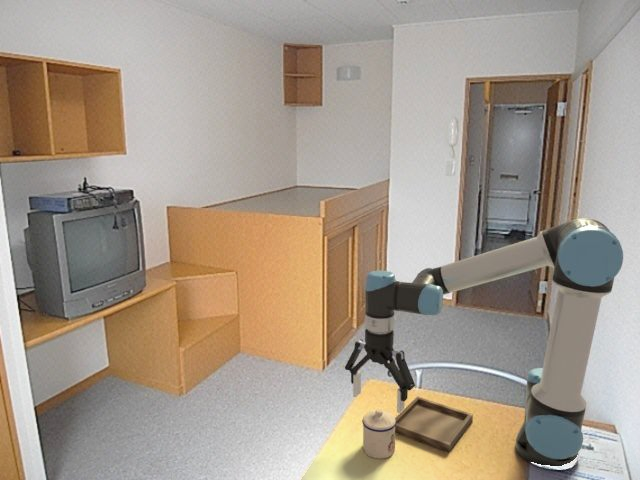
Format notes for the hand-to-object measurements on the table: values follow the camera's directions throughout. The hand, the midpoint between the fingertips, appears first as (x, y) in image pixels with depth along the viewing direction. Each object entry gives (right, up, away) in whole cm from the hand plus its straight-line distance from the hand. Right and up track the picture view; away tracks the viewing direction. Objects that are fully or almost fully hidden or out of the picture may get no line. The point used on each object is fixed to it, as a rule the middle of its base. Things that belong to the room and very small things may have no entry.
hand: (378, 402), depth 131 cm
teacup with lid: (+1, -13, +3) cm, 13 cm away
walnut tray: (+17, -11, +11) cm, 23 cm away
